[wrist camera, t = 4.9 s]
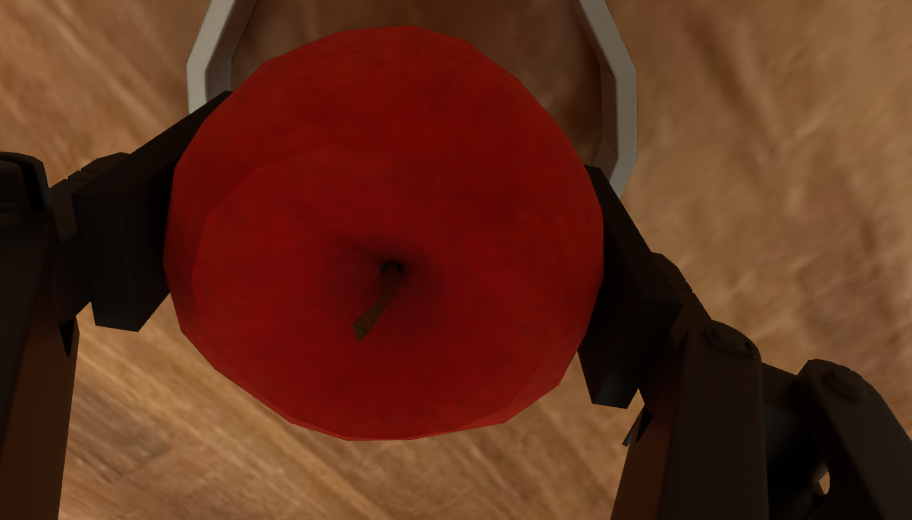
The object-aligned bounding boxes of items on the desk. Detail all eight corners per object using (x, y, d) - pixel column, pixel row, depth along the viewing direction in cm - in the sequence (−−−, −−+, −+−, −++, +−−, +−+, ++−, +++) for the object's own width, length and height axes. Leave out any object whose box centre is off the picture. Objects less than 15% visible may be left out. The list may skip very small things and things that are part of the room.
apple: (595, 61, 17) (762, 216, 8) (486, 275, 21) (508, 540, 12) (321, -59, 15) (105, -48, 6) (264, 200, 19) (87, 442, 10)
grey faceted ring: (219, 264, 21) (197, 294, 19) (206, -165, 14) (171, -179, 12) (549, 321, 22) (556, 353, 21) (689, -41, 15) (718, -38, 14)
